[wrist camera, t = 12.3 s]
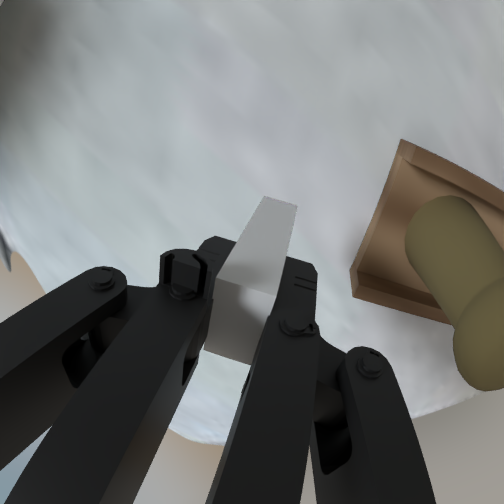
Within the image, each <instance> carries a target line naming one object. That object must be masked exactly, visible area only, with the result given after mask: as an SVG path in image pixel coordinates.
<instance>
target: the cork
mask: <svg viewBox="0 0 504 504" xmlns="http://www.w3.org/2000/svg"><path fill="white" fill-rule="evenodd" d="M404 240H405V253H406V256H407V258H408V261H409V263H410V264H411V266H412V267H413V269H414V270H415V271H416V273H417V274H418V275H419V277H420V278H421V280H422V281H423V282H424V284H425V285H426V287H427V288H428V289H429V291H430V292H431V294H432V295H433V297H434V298H435V300H436V301H437V303H438V304H439V306H440V307H441V309H442V310H443V312H444V313H445V315H446V316H447V318H448V319H449V321H450V323H451V324H452V326H453V327H454V329H455V332H454V337H453V351H454V356H455V361H456V365H457V368H458V371H459V372H460V374H461V375H462V377H463V378H464V380H465V381H466V382H467V383H468V384H469V385H471V386H472V387H474V388H475V389H477V390H481V391H492V390H499V389H502V388H504V251H503V249H502V248H501V246H500V244H499V243H498V241H497V240H496V238H495V237H494V235H493V234H492V232H491V231H490V229H489V228H488V226H487V225H486V224H485V222H484V221H483V219H482V218H481V216H480V215H479V214H478V212H477V211H476V210H475V208H474V207H473V206H472V204H470V203H469V202H467V201H466V200H465V199H463V198H461V197H457V196H453V195H447V196H440V197H436V198H434V199H433V200H431V201H429V202H427V203H425V204H424V205H423V206H422V207H421V208H420V209H419V210H418V211H417V212H416V213H415V214H414V216H413V218H412V219H411V221H410V223H409V225H408V227H407V231H406V235H405V239H404Z"/></svg>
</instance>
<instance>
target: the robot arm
mask: <svg viewBox="0 0 504 504" xmlns="http://www.w3.org/2000/svg"><path fill="white" fill-rule="evenodd" d="M297 207H298V206H297V205H294V204H290V203H287V202H283V201H280V200H277V199H273V198H270V197H266V196H264V197H263V199H262V201H261V202H260V204H259V206H258V207H257V209H256V211H255V212H254V214H253V216H252V217H251V219H250V221H249V222H248V224H247V226H246V227H245V229H244V231H243V232H242V234H241V236H240V238H239V239H238V241H237V242H235V241H231V240H228V239H225V238H221V237H218V236H214V237H211V238H209V239H207V240H205V241H204V242H203V243H202V245H201V246H200V247H199V249H198V250H197V251H194V250H189V249H173V250H170V251H166V252H165V253H163V254H162V255H160V272H159V283H158V285H157V286H156V287H139V286H131V285H127V280H126V276H125V275H124V274H123V273H122V272H121V271H120V270H118V269H115V268H113V267H106V266H102V267H94V268H92V269H89V270H87V271H85V272H83V273H82V274H80V275H78V276H76V277H75V278H73V279H71V280H69V281H68V282H66V283H64V284H63V285H61V286H59V287H58V288H56V289H54V290H52V291H51V292H49V293H47V294H46V295H44V296H43V297H41V298H39V299H38V300H36V301H34V302H33V303H31V304H30V305H28V306H26V307H25V308H23V309H22V310H20V311H19V312H17V313H15V314H14V315H12V316H11V317H9V318H8V319H6V320H5V321H3V322H2V323H0V471H1V470H2V469H3V468H4V467H5V466H6V465H7V464H8V463H10V462H11V461H12V460H13V459H14V458H15V457H17V456H18V455H19V454H20V453H21V452H22V451H23V450H25V449H26V448H27V447H28V446H29V445H30V444H31V443H33V442H34V441H35V440H36V439H37V438H38V437H39V436H40V435H41V434H43V433H44V432H45V431H46V430H47V429H48V428H50V427H51V426H52V427H51V428H50V430H49V431H48V433H47V434H46V436H45V437H44V439H43V440H42V442H41V444H40V445H39V447H38V448H37V450H36V452H35V453H34V454H33V456H32V458H31V459H30V461H29V462H28V464H27V466H26V467H25V469H24V471H23V472H22V474H21V475H20V477H19V479H18V480H17V482H16V484H15V486H14V487H13V489H12V491H11V492H10V494H9V496H8V498H7V500H6V501H5V503H4V504H133V502H134V500H135V497H136V495H137V493H138V491H139V489H140V487H141V485H142V482H143V480H144V478H145V476H146V474H147V472H148V469H149V467H150V465H151V463H152V461H153V459H154V457H155V454H156V452H157V450H158V448H159V446H160V444H161V441H162V439H163V437H164V435H165V433H166V430H167V428H168V426H169V424H170V422H171V420H172V418H173V415H174V413H175V411H176V409H177V407H178V405H179V403H180V400H181V398H182V396H183V394H184V392H185V390H186V387H187V385H188V383H189V381H190V379H191V377H192V375H193V372H194V370H195V368H196V366H197V364H198V359H199V352H200V350H201V348H202V346H203V344H204V349H203V350H206V351H209V352H211V353H214V354H217V355H220V356H223V357H226V358H229V359H232V360H236V361H239V362H242V363H245V364H248V365H251V367H250V370H249V373H248V376H247V378H246V381H245V384H244V386H243V389H242V392H241V393H242V394H241V398H240V401H239V404H238V407H237V410H236V413H235V417H234V420H233V423H232V426H231V429H230V432H229V435H228V438H227V441H226V444H225V447H224V450H223V454H222V457H221V460H220V462H219V465H218V468H217V471H216V474H215V477H214V480H213V483H212V486H211V489H210V492H209V494H208V497H207V500H206V503H205V504H300V500H301V494H302V488H303V483H304V476H305V470H306V463H307V457H308V450H309V445H310V452H311V460H312V468H313V476H314V484H315V493H316V501H317V504H436V502H435V497H434V493H433V489H432V486H431V482H430V478H429V475H428V471H427V468H426V464H425V461H424V458H423V454H422V451H421V448H420V445H419V441H418V438H417V435H416V432H415V430H414V426H413V423H412V420H411V418H410V415H409V412H408V409H407V406H406V403H405V401H404V398H403V395H402V393H401V390H400V387H399V385H398V382H397V379H396V377H395V374H394V372H393V369H392V367H391V365H390V363H389V362H388V360H387V359H386V358H385V357H384V356H383V355H382V354H381V353H380V352H378V351H376V350H374V349H372V348H368V347H364V346H361V347H354V348H353V349H351V350H350V351H348V353H345V352H343V351H341V350H339V349H337V348H336V347H334V346H332V345H331V344H329V343H328V342H326V341H325V340H324V339H323V338H322V337H321V336H320V331H319V326H318V325H317V323H316V322H315V310H316V294H317V292H316V291H317V275H318V273H317V272H316V270H315V268H314V266H313V264H311V263H308V262H304V261H301V260H298V259H294V258H291V257H288V256H286V255H287V251H288V246H289V242H290V238H291V234H292V229H293V225H294V220H295V216H296V212H297ZM204 342H205V343H204Z"/></svg>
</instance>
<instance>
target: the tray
mask: <svg viewBox="0 0 504 504" xmlns="http://www.w3.org/2000/svg"><path fill="white" fill-rule="evenodd" d="M447 195H453V196H457V197H461V198H463V199H465V200H466V201H467V202H469V203H470V204H472V206H473V207H474V208H475V210H476V211H477V212H478V214H479V215H480V216H481V218H482V219H483V221H484V222H485V224H486V225H487V226H488V228H489V229H490V231H491V232H492V234H493V235H494V237H495V238H496V240H497V241H498V243H499V244H500V246H501V248H502V249H503V251H504V192H503V191H502V190H500V189H498V188H497V187H495V186H493V185H492V184H490V183H488V182H487V181H485V180H483V179H482V178H480V177H478V176H476V175H475V174H473V173H471V172H469V171H467V170H466V169H464V168H462V167H460V166H458V165H456V164H454V163H452V162H450V161H448V160H446V159H444V158H442V157H440V156H438V155H436V154H434V153H432V152H430V151H428V150H426V149H423V148H421V147H419V146H417V145H415V144H412V143H410V142H408V141H405V140H403V139H401V140H400V143H399V146H398V149H397V152H396V155H395V158H394V161H393V164H392V167H391V170H390V172H389V175H388V178H387V181H386V183H385V186H384V189H383V192H382V194H381V197H380V199H379V202H378V205H377V207H376V210H375V212H374V215H373V217H372V220H371V222H370V225H369V227H368V230H367V232H366V234H365V237H364V239H363V241H362V244H361V246H360V248H359V251H358V253H357V255H356V258H355V260H354V262H353V264H352V266H351V269H350V278H351V287H352V296H353V297H354V298H358V299H361V300H364V301H368V302H371V303H375V304H378V305H382V306H385V307H389V308H392V309H396V310H399V311H403V312H406V313H410V314H413V315H417V316H420V317H424V318H428V319H431V320H435V321H438V322H442V323H446V324H449V325H452V324H451V323H450V321H449V319H448V318H447V316H446V315H445V313H444V312H443V310H442V309H441V307H440V306H439V304H438V303H437V301H436V300H435V298H434V297H433V295H432V294H431V292H430V291H429V289H428V288H427V287H426V285H425V284H424V282H423V281H422V280H421V278H420V277H419V275H418V274H417V273H416V271H415V270H414V269H413V267H412V266H411V264H410V263H409V261H408V258H407V256H406V253H405V240H404V239H405V235H406V231H407V227H408V225H409V223H410V221H411V219H412V218H413V216H414V214H415V213H416V212H417V211H418V210H419V209H420V208H421V207H422V206H423V205H424V204H425V203H427V202H429V201H431V200H433V199H434V198H436V197H440V196H447Z"/></svg>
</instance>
